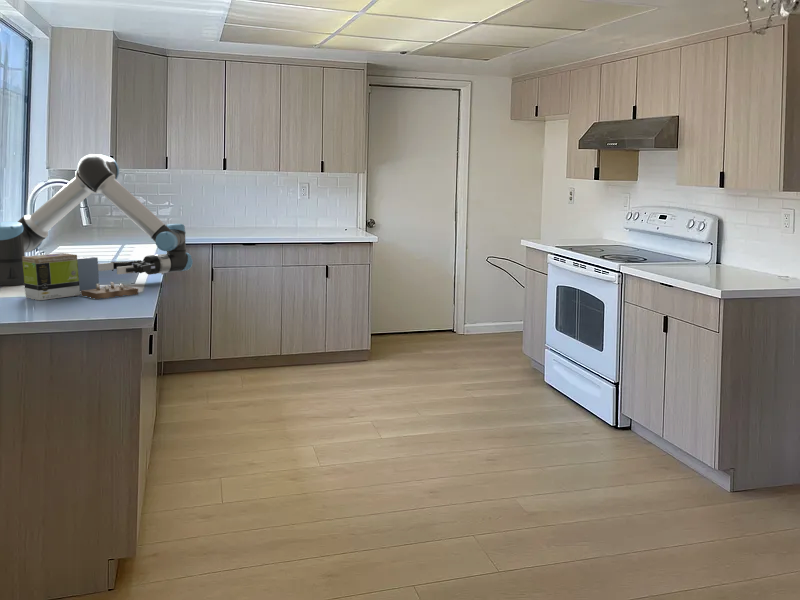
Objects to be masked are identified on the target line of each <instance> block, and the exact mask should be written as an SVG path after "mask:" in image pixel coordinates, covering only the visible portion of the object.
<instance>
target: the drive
mask: <svg viewBox="0 0 800 600" xmlns="http://www.w3.org/2000/svg"><path fill="white" fill-rule="evenodd" d="M98 259H99V258H98V257H96V256H85V257H77V261H78V273H79V286H80V291H81V290H90V289H96V284H100V279H99V278H100V277H99V276H100V275H99V271H98V264H99V260H98Z"/></svg>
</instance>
